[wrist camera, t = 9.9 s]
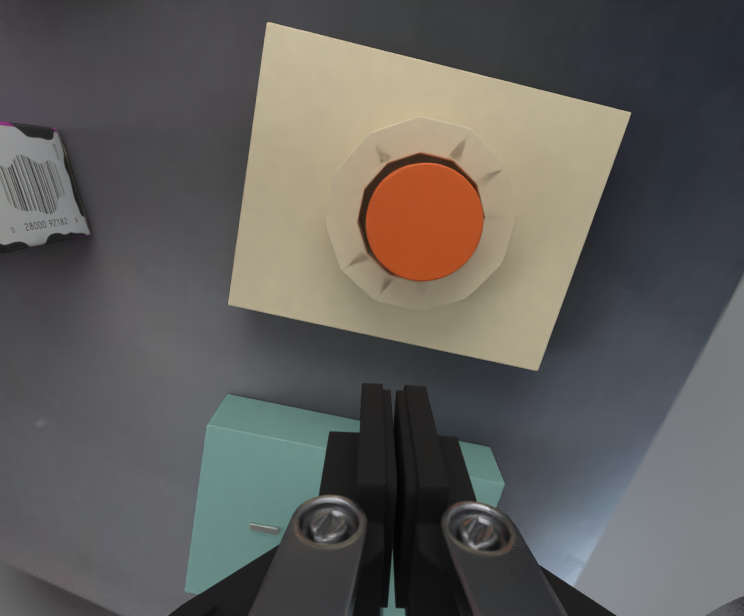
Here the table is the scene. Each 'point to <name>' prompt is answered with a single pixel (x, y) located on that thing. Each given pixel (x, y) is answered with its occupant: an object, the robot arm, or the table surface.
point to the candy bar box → (36, 189)
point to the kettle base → (400, 148)
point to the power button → (424, 221)
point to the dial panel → (276, 483)
